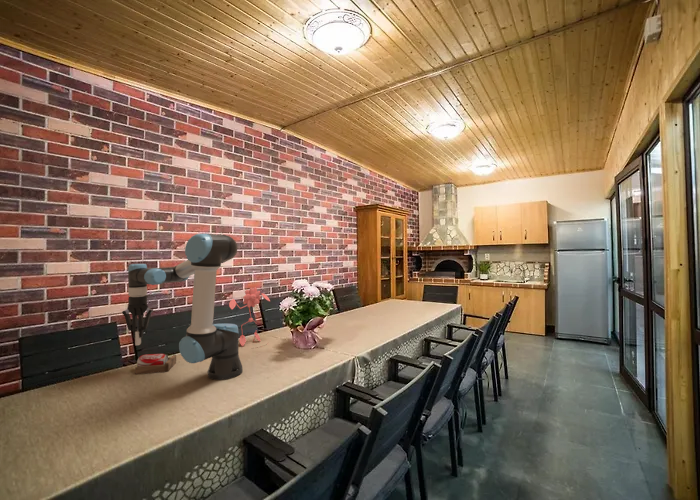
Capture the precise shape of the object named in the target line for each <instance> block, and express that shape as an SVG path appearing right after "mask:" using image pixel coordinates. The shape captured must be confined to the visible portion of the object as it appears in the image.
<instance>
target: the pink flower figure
mask: <svg viewBox="0 0 700 500" xmlns="http://www.w3.org/2000/svg"><path fill="white" fill-rule="evenodd" d="M244 293H245V295H244V296H243V297H242V298H243V302H242V304H243V305H244V306H242V307H240V306H239V305H238V303H237V302H236V300H235V299H234V298H232V299H230V301H229V304H228V306H229V308H230V309H231V310H234V309H235V307H236V306H237V307H238V308H239V309H240V310H241V309H243V308H246V307H247V309H248V310H249V311H248V312H249V316H250V317H249V318H248V321H246V322H244V323H242V325H240V326H241V327H240V329H241V330H243V325H246V324H247V323H252V322H254V323H256V321H255V320H254V318H253V317H252V313H251V307H252V308H255V307H256V306H257V305H259V304H260V300H261V298H262V297H263V299H265V300H266V301H267V302H271V300H270V298H269V296H268V295H266V293H263V292H261V291H260V290H258V288H257V287H256V286H254V288H253V287H250V288H249V289H246V290H244ZM243 332H244V331H241V335H240V336H239V345H241V347H244V346H245V344H246V341H247V339H246V336H245V335H243ZM253 335H254V337H253V340H252V341H253V342H255V339H256V340H257V341H258V342H261V337H260V335H259V333H257V331H255V332H254V333H253ZM267 345H268V343H267V344H265V345H262V346H260V348H262V347H265V346H267ZM257 348H258V349H259V346H258V347H256V349H257ZM251 349H253V348H251Z"/></svg>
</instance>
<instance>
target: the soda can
mask: <svg viewBox="0 0 700 500" xmlns="http://www.w3.org/2000/svg"><path fill="white" fill-rule="evenodd" d="M168 358H169V355H168V354H165V353H150V354H149V353H148V354H141V355H140V356H139V357H138V358H137V361H136V367H138V366H151V365H164V364H165V363H166V362H167V361H168Z"/></svg>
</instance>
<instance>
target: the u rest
mask: <svg viewBox="0 0 700 500" xmlns="http://www.w3.org/2000/svg"><path fill="white" fill-rule="evenodd" d="M176 363H177V355H176V354H173V355H172V356H171V357H169V356H168V361H167V362H166V363H165V364H164V365H151V366H138V367H137V366H135V368H134V369H135V375H143V374H144V375H145V374H154V373H167V372H170V370H172V368H174V366H175V365H176Z"/></svg>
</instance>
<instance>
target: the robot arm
mask: <svg viewBox="0 0 700 500" xmlns="http://www.w3.org/2000/svg"><path fill="white" fill-rule="evenodd" d="M184 252H185V253H184V254H185V256H186V259H187V260H184V261H183V262H181V263H179V264H177V265H175V266H171V267H170V266H169V267H154V268H153V267H151V268H148V267H147V264H146V263H131V264H129V265H128V270H127V278H128V279H127V280H128V288H127V289H128V292H127V293H128V296H129V297H128V300H127V301H128V303H127V304H128V306H127V309H125V310H123V311H121V313H122V315H123V316H124V319H125V322H126V326H127V330H128V331H131V332H132V337H133V339H134V346H140V345H141V344H142V338H143V337H144V331H145V330H147V329H148V328H149V323H150V319H151V316H152V314H153V312H154V309H152V308H149V305H148V296H147V294H148V285H151V286H156V285H161V284H167V283H175V282H176V283H181V282H184V281H185V282H186V281H187V280H189V278H190V277H191V276H193V290H192V305H191V320H190V321H191V322H190V325H189V326H188V328H186V333H185V336H183V337H181V339H180V341H179V343H178V349H179V353H180V356H181V357H182V359H184V361H186V362H187V363H189V364H197V363H200V362H203V361H205V360H208V359H210V360H211V361H210V362H209V366H208V369H207V378H209V379H211V380H217V381H218V380H219V381H221V380H228V379H232V378H236V377H238V376H240V375H241V374H242V373H243V363H242V361H241V359H240V356H239V351H240V350H239V349H240V348H239V347H240V346H239V345H240V341H239V338H240V336H239V333H240V332H239V327H238V325H237V324H235V323H224V322H223V323H222V322H221V323H214V315H215V313H214V312H215V299H216V286H217V285H216V284H217V272H218V270H219V269H220V268H221V267H222V264H224V263H225V262H229V261H230V260H232V259H234V258H235V256H236V255H237V253H238V244H237V242H236V240H235V239H234V238H233V237H231V236H229V235H227V234H216V233H215V234H212V233H197V234H193V235H191V237H190V238H189V239H188V240H187V241H186V244H185V247H184ZM145 313H146V315H144V314H145ZM130 314H131V315H130ZM144 316H145V318H144Z"/></svg>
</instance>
